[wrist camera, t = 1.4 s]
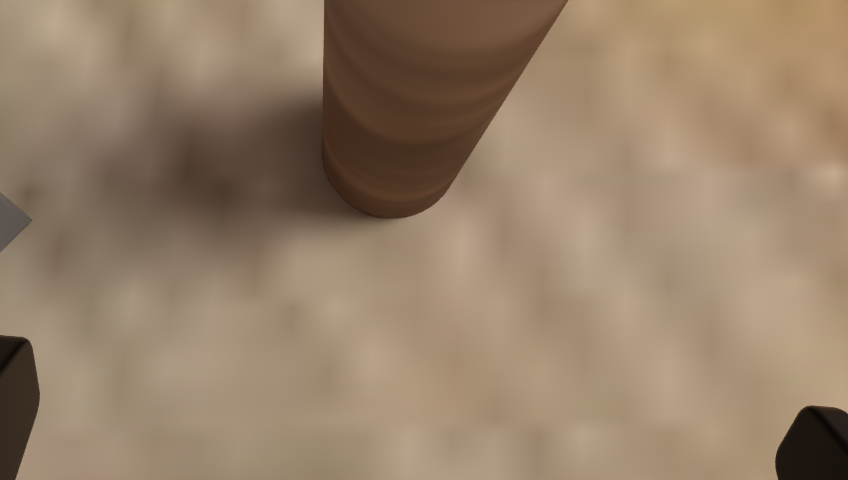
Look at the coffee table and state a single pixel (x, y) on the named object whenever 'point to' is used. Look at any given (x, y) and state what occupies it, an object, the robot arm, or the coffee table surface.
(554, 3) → the tall walnut pin
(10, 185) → the coffee table surface
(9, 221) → the slate collar block
